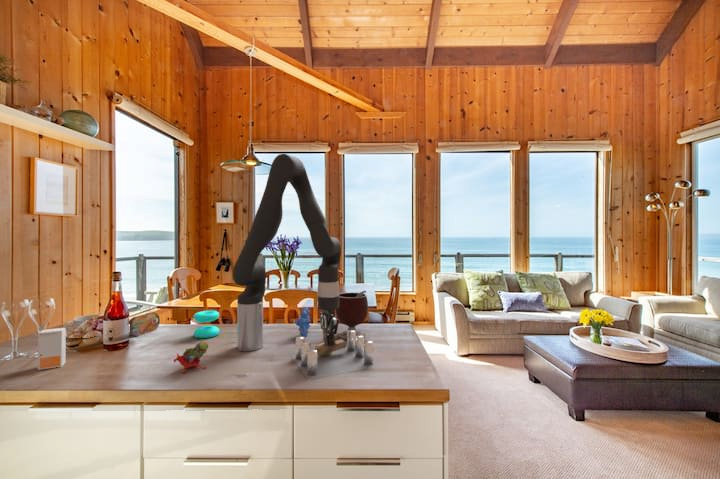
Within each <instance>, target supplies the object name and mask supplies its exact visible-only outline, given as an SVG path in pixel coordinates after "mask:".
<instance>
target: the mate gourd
mask: <svg viewBox="0 0 720 479" xmlns="http://www.w3.org/2000/svg"><path fill="white" fill-rule="evenodd" d="M366 293H367V291H366V290H363V291H361V292H342V293H339V308H338V309H335V314H336V319H338V320H339V322H340V324H341V325H345V326H347V327H348V328H347V329H342V330H339V331H337V336H338V337H339V338H340V339H346V340H347V331H348V330H355V331H356V335H363V336H364V337H366V336H367V332H366V331H365V330H363V329H357V328H356V327H357V326H359V325H361V324H363V323H364V322H365V320H366V319H367V316H368V312H369V311H368V310H369V302H368V298H367V297H368V296H367V294H366Z"/></svg>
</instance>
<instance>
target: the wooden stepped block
mask: <svg viewBox="0 0 720 479" xmlns="http://www.w3.org/2000/svg"><path fill="white" fill-rule="evenodd" d="M321 330H322V335H323V343H324V344H323V345H320V346H318V345H317V346H315V347H314V349H317V355H318V356H320V355H323V354H326V353H330V352H333V351H336V350H339V349H343V348H346V346H345V345H346V341H345V340H344V339H343V338H340V339H338V340H336V338H335V337H336V336H335V335H334V345H333V346H327V329H326V328H325V327H324V328H322V329H321Z"/></svg>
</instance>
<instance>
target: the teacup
mask: <svg viewBox="0 0 720 479" xmlns="http://www.w3.org/2000/svg"><path fill="white" fill-rule="evenodd" d="M97 315H98V314H87V315H80V316H76V317H74V318H73V319H72V320H69V321H65V322H64V324H63V326H62V328H66V333H67V332H68V333H71V332H70V331H73V330H75V329H77V328H78V326H79V325H80V324H82V323H83V322H85V321H86V320H89V319H91V318H93V317H95V316H97ZM69 324H71V325H72V327H73V328H72V329H69V328H67V326H68V325H69Z"/></svg>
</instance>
